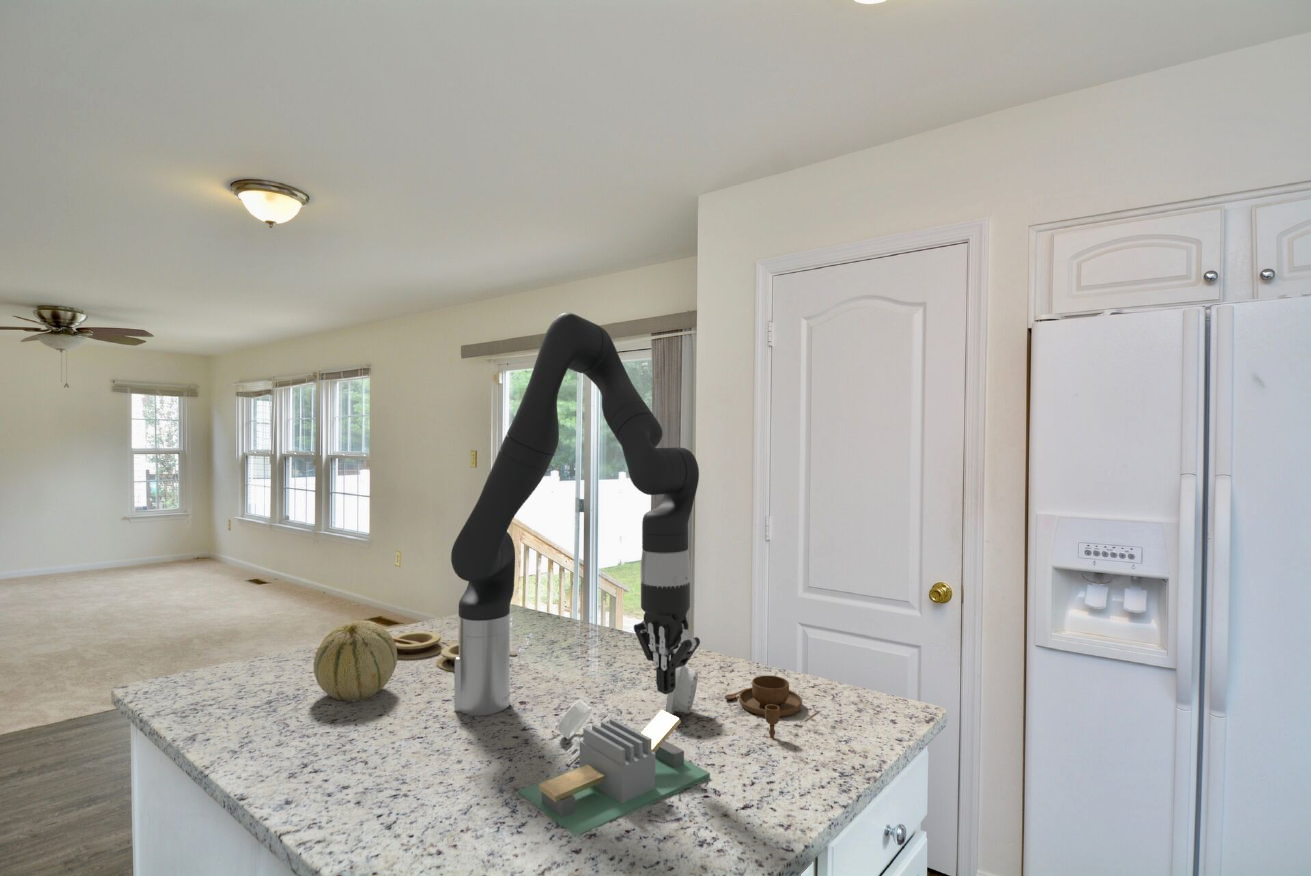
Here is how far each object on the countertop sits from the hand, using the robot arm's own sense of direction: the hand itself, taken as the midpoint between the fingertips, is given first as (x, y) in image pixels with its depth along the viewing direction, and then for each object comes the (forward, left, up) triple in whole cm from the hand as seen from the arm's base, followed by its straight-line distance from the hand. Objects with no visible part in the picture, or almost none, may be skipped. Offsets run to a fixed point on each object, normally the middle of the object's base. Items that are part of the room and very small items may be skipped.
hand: (665, 691), depth 105 cm
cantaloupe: (-61, +23, -12) cm, 66 cm away
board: (-7, -7, -12) cm, 15 cm away
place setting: (+17, +23, -13) cm, 32 cm away
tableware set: (-54, +48, -13) cm, 74 cm away
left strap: (-9, -9, -8) cm, 15 cm away
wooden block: (-4, -4, -8) cm, 10 cm away
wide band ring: (-16, +9, -13) cm, 22 cm away
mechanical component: (+1, +20, -13) cm, 24 cm away
